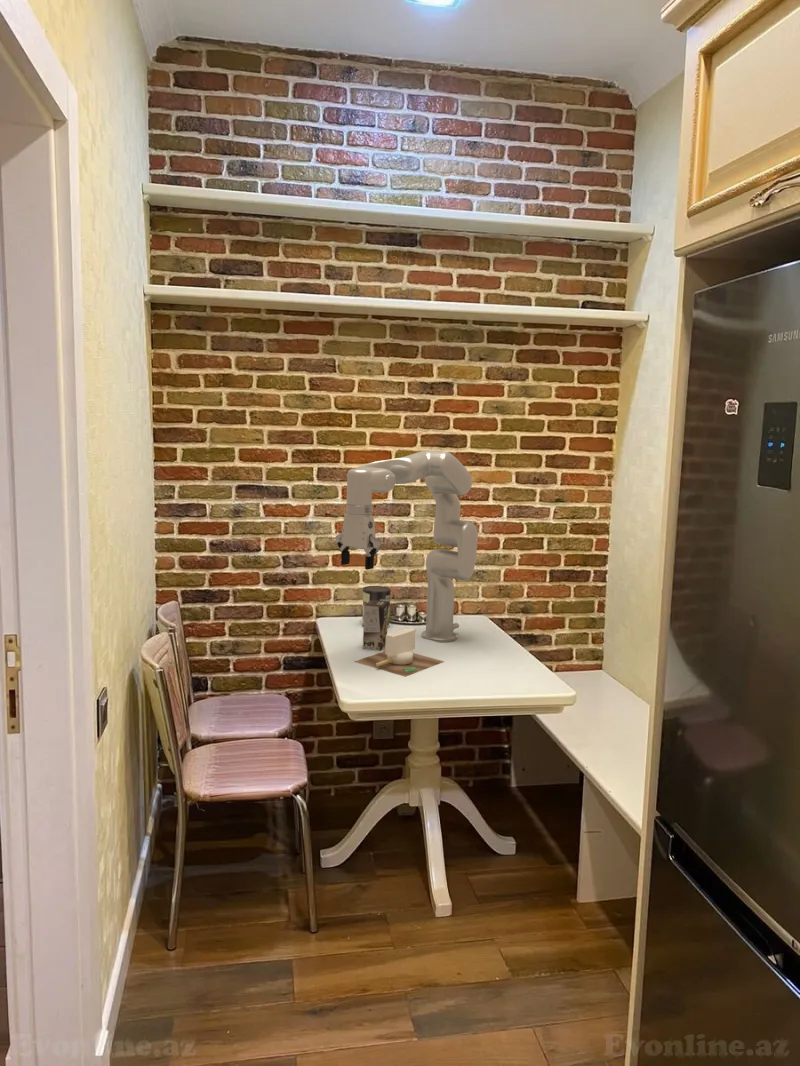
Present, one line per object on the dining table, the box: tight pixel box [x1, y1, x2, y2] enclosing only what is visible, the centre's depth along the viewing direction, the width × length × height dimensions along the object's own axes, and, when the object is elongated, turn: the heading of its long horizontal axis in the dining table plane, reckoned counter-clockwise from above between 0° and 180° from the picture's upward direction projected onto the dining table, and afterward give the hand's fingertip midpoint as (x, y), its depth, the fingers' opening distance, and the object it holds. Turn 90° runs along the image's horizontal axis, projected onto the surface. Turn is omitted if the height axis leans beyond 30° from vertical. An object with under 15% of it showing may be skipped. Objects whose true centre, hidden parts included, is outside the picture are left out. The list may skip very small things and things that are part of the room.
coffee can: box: [361, 585, 392, 628], centre depth 279 cm, size 10×10×14 cm
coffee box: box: [362, 600, 388, 652], centre depth 248 cm, size 9×6×16 cm
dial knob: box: [376, 627, 416, 666], centre depth 231 cm, size 16×8×9 cm, turn 142°
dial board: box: [354, 650, 445, 678], centre depth 234 cm, size 20×20×2 cm
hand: (357, 566), depth 228 cm, fingers open, 9 cm apart
